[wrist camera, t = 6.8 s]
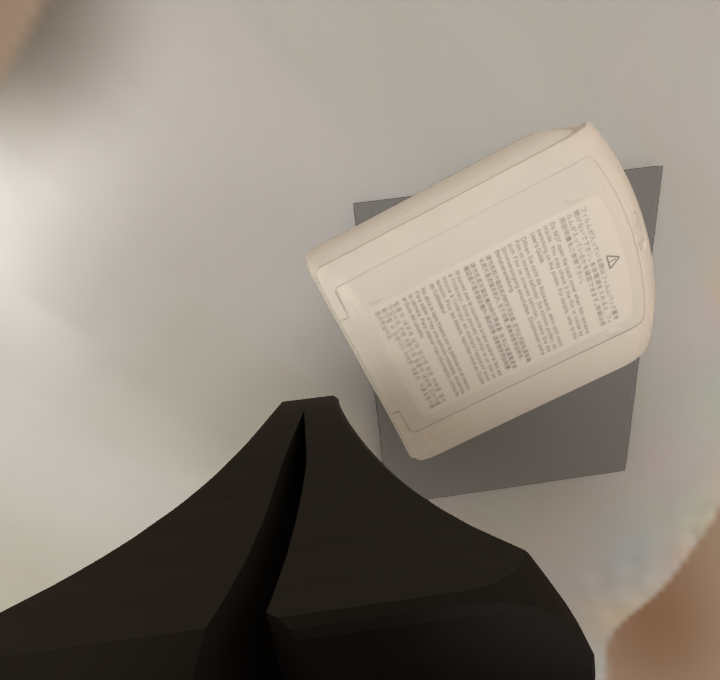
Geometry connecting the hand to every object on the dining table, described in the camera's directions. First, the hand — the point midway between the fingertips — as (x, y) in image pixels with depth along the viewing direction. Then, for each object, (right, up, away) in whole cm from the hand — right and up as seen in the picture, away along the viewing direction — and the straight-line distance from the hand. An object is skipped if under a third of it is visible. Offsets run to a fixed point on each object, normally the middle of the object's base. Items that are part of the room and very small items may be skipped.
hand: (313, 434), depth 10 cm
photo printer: (+1, +1, +8) cm, 8 cm away
